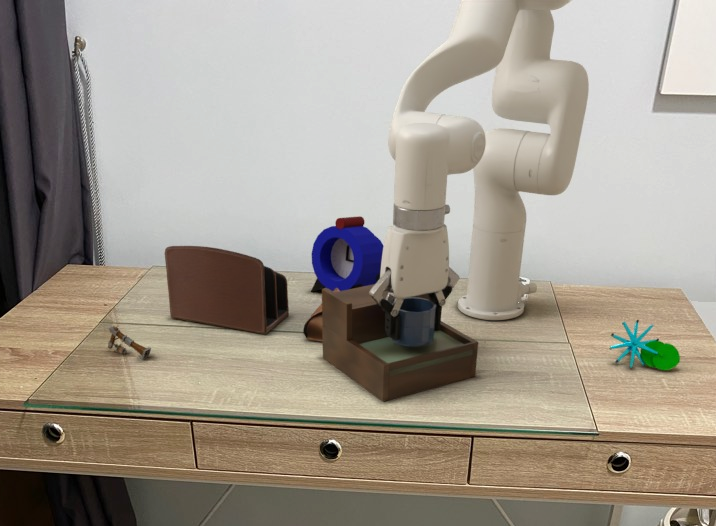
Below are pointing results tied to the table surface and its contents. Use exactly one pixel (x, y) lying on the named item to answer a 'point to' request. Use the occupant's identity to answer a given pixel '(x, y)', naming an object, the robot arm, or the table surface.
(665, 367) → the stick construction toy
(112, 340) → the brown branched rod
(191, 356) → the table surface
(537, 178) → the robot arm
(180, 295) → the letter holder
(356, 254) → the alarm clock
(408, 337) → the cup
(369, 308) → the brown wooden drawer box
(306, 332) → the sunglasses case
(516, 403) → the table surface
